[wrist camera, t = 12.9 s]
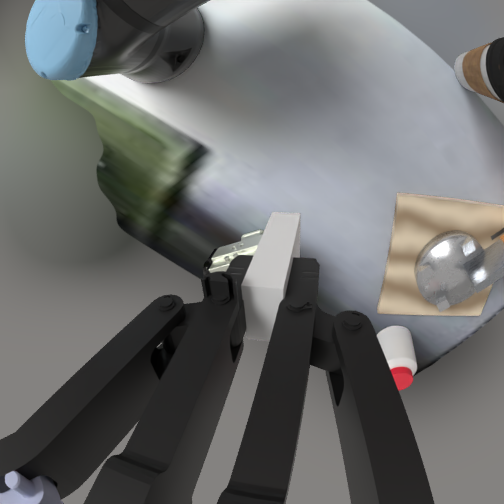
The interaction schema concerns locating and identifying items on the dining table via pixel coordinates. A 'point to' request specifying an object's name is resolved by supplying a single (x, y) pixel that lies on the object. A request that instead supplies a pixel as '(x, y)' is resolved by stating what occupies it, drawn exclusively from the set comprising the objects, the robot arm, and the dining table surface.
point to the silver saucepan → (457, 267)
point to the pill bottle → (399, 354)
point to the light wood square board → (418, 235)
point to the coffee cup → (483, 70)
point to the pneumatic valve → (232, 252)
